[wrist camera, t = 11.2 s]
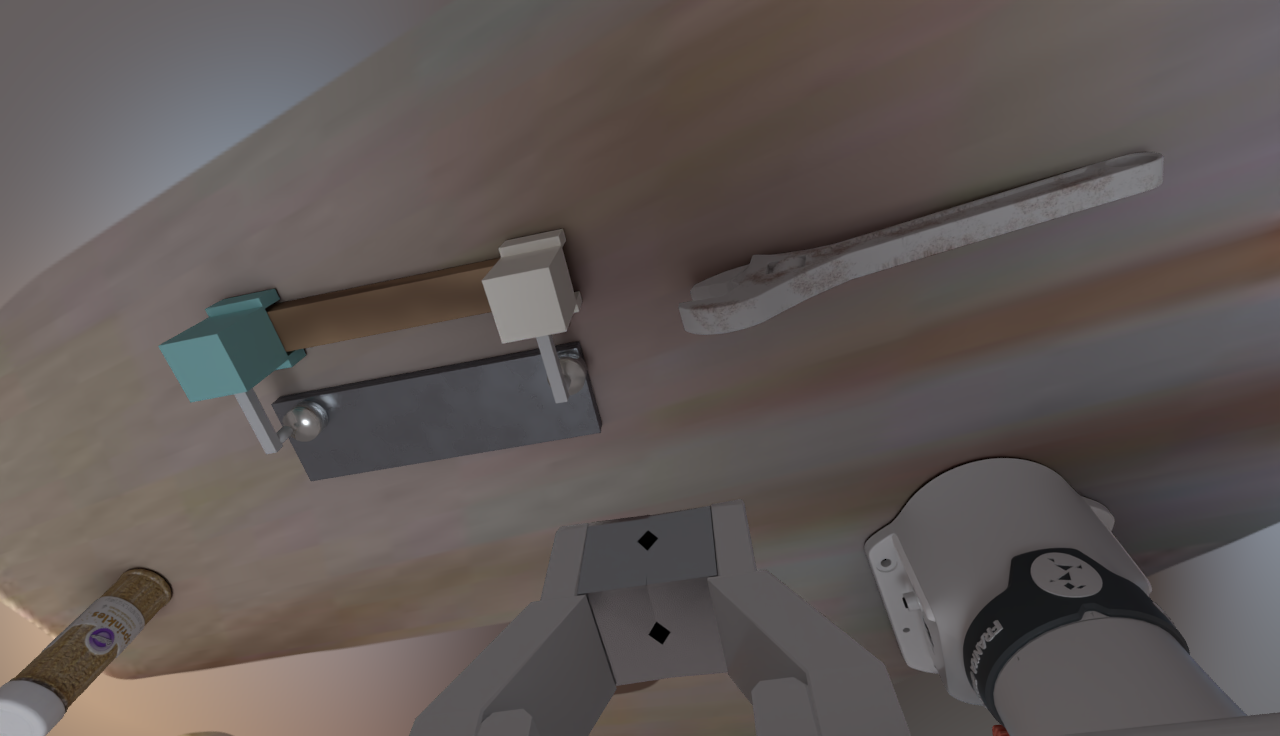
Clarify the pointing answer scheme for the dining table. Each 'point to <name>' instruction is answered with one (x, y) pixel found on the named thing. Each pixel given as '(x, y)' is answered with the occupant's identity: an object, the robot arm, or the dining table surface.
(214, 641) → the dining table surface
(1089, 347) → the dining table surface
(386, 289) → the rail
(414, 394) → the bolt plate
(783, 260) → the wrench
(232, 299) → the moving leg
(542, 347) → the fixed leg
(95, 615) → the sprinkles bottle
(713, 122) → the dining table surface
